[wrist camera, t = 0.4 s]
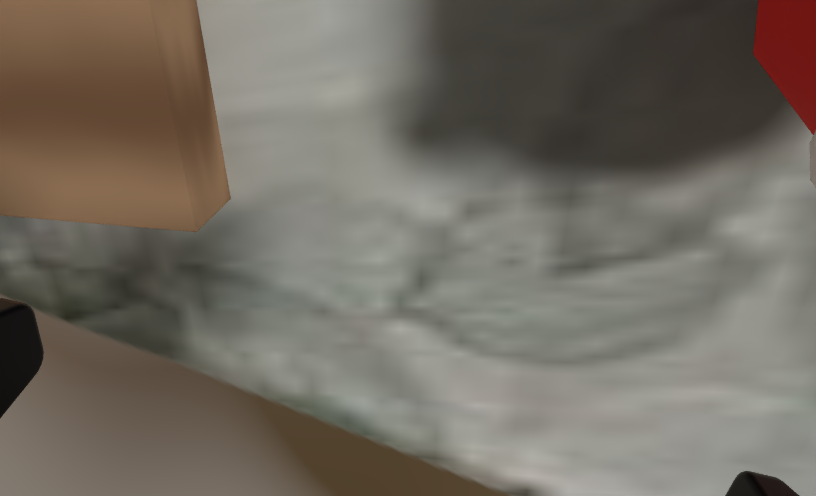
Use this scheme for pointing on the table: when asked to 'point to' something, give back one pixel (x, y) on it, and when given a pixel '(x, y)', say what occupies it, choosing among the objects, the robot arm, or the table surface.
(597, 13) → the table surface
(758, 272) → the table surface
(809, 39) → the mushroom
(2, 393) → the robot arm
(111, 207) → the pedestal
